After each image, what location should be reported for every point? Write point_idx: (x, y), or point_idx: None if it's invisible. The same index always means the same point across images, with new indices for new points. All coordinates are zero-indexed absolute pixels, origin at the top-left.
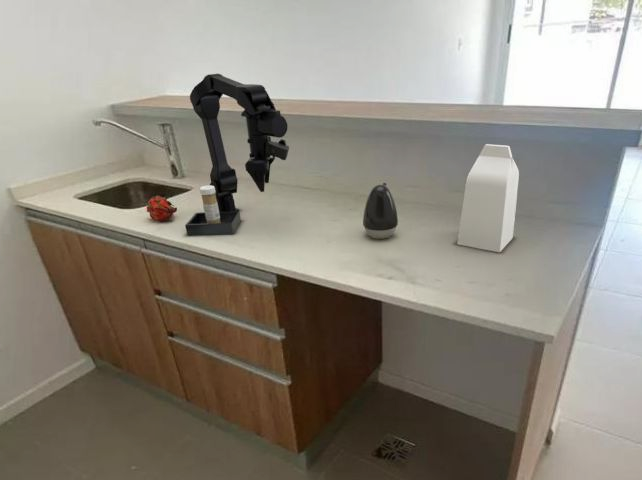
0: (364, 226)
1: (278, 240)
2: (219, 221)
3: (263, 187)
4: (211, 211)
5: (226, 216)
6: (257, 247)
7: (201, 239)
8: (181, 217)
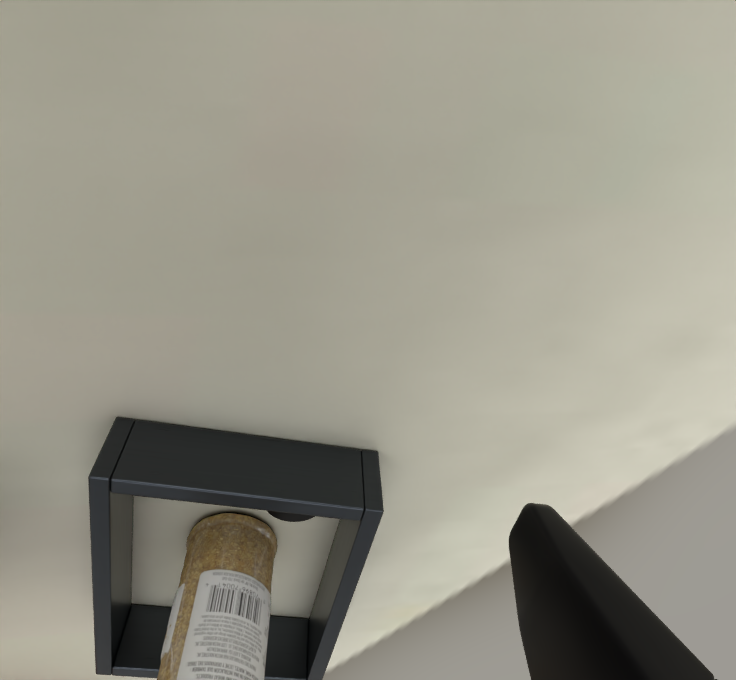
0: None
1: (663, 157)
2: (242, 554)
3: (601, 571)
4: (264, 659)
5: (120, 523)
6: (700, 316)
7: (399, 576)
8: (13, 672)
